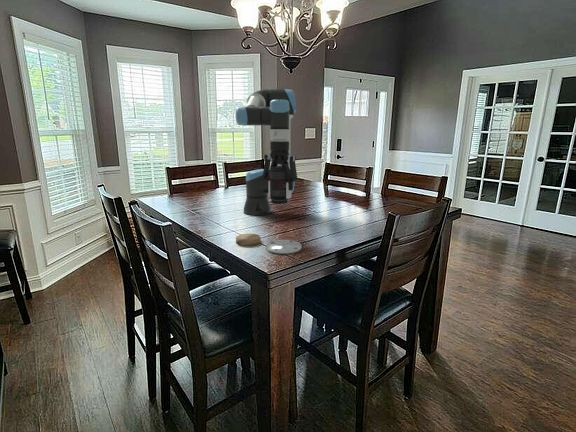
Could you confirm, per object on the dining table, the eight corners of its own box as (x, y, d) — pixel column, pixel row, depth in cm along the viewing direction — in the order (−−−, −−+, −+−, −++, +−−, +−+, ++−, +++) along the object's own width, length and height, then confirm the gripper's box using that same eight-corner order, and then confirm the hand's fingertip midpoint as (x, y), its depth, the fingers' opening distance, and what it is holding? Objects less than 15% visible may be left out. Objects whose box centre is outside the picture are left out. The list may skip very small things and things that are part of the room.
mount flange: (258, 249, 131) (258, 247, 130) (278, 239, 142) (278, 237, 142) (289, 257, 124) (289, 254, 123) (308, 246, 135) (308, 243, 135)
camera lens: (288, 200, 146) (289, 165, 142) (289, 204, 138) (289, 167, 134) (269, 200, 145) (269, 165, 142) (269, 204, 137) (269, 167, 134)
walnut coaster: (230, 244, 138) (230, 238, 137) (246, 237, 146) (246, 232, 146) (250, 248, 133) (250, 242, 132) (265, 241, 141) (265, 236, 140)
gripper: (253, 140, 138) (254, 195, 143) (297, 141, 127) (296, 201, 132) (264, 140, 144) (264, 192, 149) (307, 141, 133) (306, 198, 139)
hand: (279, 196), depth 141 cm, fingers closed on camera lens, 8 cm apart
